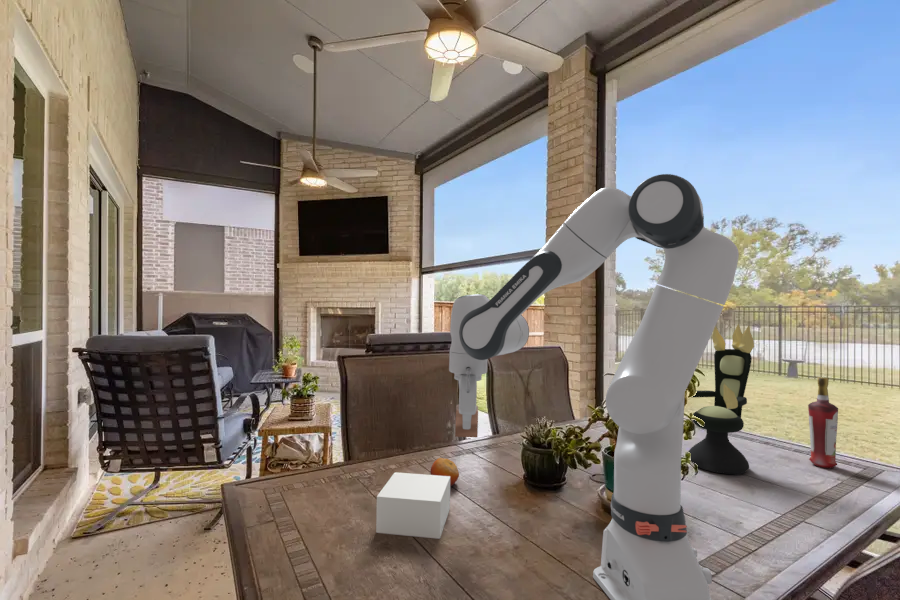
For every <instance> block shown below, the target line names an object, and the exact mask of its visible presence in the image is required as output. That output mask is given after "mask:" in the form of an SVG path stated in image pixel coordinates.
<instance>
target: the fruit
mask: <svg viewBox="0 0 900 600" xmlns="http://www.w3.org/2000/svg"><path fill="white" fill-rule="evenodd" d="M429 470H430V475H438V476H450V488H451V487H453V486H454V484H455V483H456V482H457V481H458V480H459V477H460V472H459V470H458V466H457V465H456V463H455V462H454V461H453V460H450V459H449V458H442V457H439V458H437V459H436V460H434V461H433V463H432V465H431V467H430V469H429Z"/></svg>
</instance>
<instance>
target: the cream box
mask: <svg viewBox="0 0 900 600" xmlns="http://www.w3.org/2000/svg"><path fill="white" fill-rule="evenodd" d="M450 509H451V487H450V476H438V475H431V474H426V473H425V474H424V473H423V474H422V473H411V472H410V473H409V472H398V471H397V472H396V471H395V472H394V473H393V474H392V475H391V477H390V478H389V479H388V481H387V482H386V484H384V486H383V488H382V489H381V490H380V492H379V493H378V494H377V496H376V515H375V516H376V523H375V524H376V526H375V527H376V529H375V532H376V534H377V533H378V534H385V535H397V536H407V537H416V538H417V537H419V538H429V539H430V538H431V539H441V536H442V534H443V531H444V528H445V525H446V522H447V518H448V516H449V512H450Z"/></svg>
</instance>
